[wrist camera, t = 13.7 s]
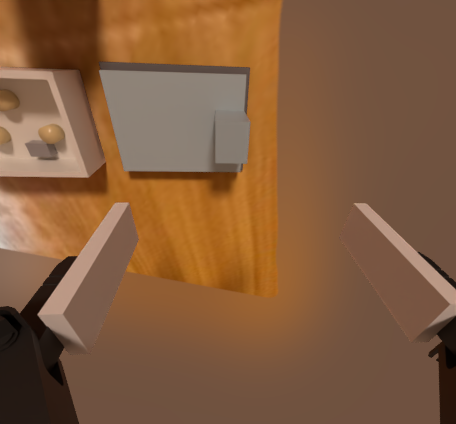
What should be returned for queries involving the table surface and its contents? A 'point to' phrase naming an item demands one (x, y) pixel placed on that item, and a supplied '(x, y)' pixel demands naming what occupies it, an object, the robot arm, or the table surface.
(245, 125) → the lid
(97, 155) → the tub
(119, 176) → the table surface
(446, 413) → the robot arm
